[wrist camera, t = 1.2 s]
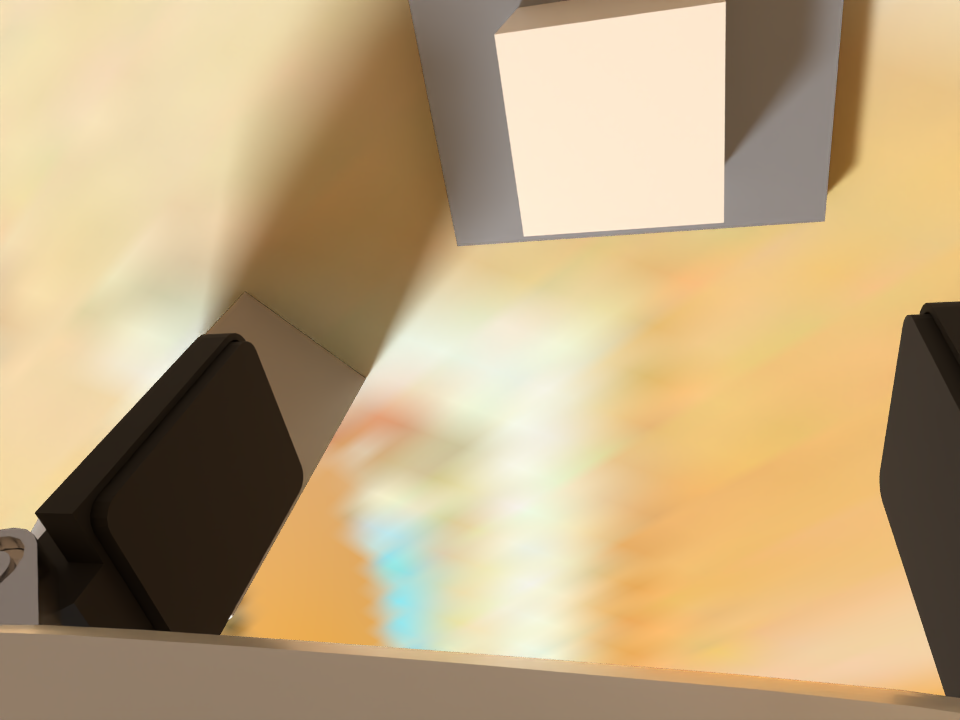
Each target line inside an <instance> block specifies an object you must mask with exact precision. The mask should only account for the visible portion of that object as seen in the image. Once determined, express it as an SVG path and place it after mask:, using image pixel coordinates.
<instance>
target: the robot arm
mask: <svg viewBox="0 0 960 720" xmlns="http://www.w3.org/2000/svg"><path fill="white" fill-rule="evenodd" d="M302 484H303V469H302V465H301V463H300V460H299V458H298V455H297V453H296V450H295V448H294V445H293V442H292V440H291V437H290V435H289V432H288V430H287V427H286V425H285V422H284V419H283V417H282V414H281V412H280V409H279V407H278V404H277V402H276V399H275V397H274V394H273V391H272V389H271V386H270V384H269V381H268V379H267V376H266V374H265V371H264V369H263V366H262V363H261V361H260V358H259V356H258V353H257V351H256V349H255V347H254V345H253V344H252V343H251V342H248V341H245V339H244V338H243V337H242V336H241V335H240V334H237V333H221V334H204V335H201V336H200V337H198V338H197V339H196V340H195V341H194V342H193V343H192V344H191V345H190V347H189V348H188V349H187V350H186V351H185V352H184V353H183V354H182V355H181V356H180V357H179V358H178V359H177V361H176V362H175V363H174V364H173V365H172V366H171V367H170V368H169V369H168V370H167V371H166V372H165V373H164V374H163V376H162V377H161V378H160V379H159V380H158V381H157V382H156V383H155V384H154V385H153V386H152V387H151V388H150V390H149V391H148V392H147V393H146V394H145V395H144V396H143V397H142V398H141V399H140V400H139V401H138V402H137V403H136V405H135V406H134V407H133V408H132V409H131V410H130V411H129V412H128V413H127V414H126V415H125V416H124V417H123V419H122V420H121V421H120V422H119V423H118V424H117V425H116V426H115V427H114V428H113V429H112V430H111V431H110V433H109V434H108V435H107V436H106V437H105V438H104V439H103V440H102V441H101V442H100V443H99V444H98V445H97V446H96V448H95V449H94V450H93V451H92V452H91V453H90V454H89V455H88V456H87V457H86V458H85V459H84V460H83V462H82V463H81V464H80V465H79V466H78V467H77V468H76V469H75V470H74V471H73V472H72V473H71V474H70V475H69V477H68V478H67V479H66V480H65V481H64V482H63V483H62V484H61V485H60V486H59V487H58V488H57V489H56V491H55V492H54V493H53V494H52V495H51V496H50V497H49V498H48V499H47V500H46V501H45V502H44V503H43V505H42V506H41V507H40V508H39V509H38V510H37V511H36V512H35V514H36V515H37V517H38V518H39V520H40V521H41V523H42V524H43V526H44V527H45V529H46V531H45V532H44V533H43V534H42V535H41V536H40V537H39V539H38V540H37V538H36V537H35V535H34V534H32V533H31V532H29V531H28V530H26V529H20V528H9V529H2V530H0V720H960V302H937V303H925V304H924V305H923V307H922V309H921V311H920V315H907V316H906V317H905V320H904V323H903V327H902V334H901V340H900V347H899V353H898V359H897V366H896V372H895V379H894V385H893V392H892V398H891V404H890V411H889V417H888V424H887V430H886V436H885V443H884V449H883V456H882V462H881V468H880V492H881V498H882V501H883V505H884V508H885V511H886V514H887V517H888V520H889V523H890V526H891V529H892V532H893V535H894V538H895V541H896V545H897V548H898V551H899V554H900V557H901V560H902V563H903V566H904V569H905V572H906V575H907V578H908V581H909V585H910V588H911V591H912V594H913V597H914V600H915V603H916V606H917V609H918V612H919V615H920V618H921V621H922V624H923V628H924V631H925V634H926V637H927V640H928V643H929V646H930V649H931V652H932V655H933V658H934V661H935V664H936V667H937V671H938V674H939V677H940V680H941V683H942V686H943V689H944V692H945V695H946V696H941V695H933V694H926V693H918V692H911V691H904V690H896V689H885V688H875V687H864V686H854V685H843V684H833V683H822V682H812V681H801V680H791V679H780V678H770V677H759V676H749V675H738V674H726V673H713V672H701V671H688V670H676V669H663V668H651V667H638V666H626V665H613V664H601V663H588V662H576V661H563V660H551V659H538V658H526V657H513V656H500V655H486V654H473V653H460V652H447V651H433V650H420V649H407V648H393V647H380V646H366V645H352V644H339V643H325V642H311V641H298V640H283V639H269V638H254V637H240V636H225V635H220V634H221V632H222V631H223V629H224V627H225V625H226V623H227V622H228V620H229V618H230V616H231V614H232V613H233V611H234V609H235V607H236V605H237V604H238V602H239V600H240V598H241V596H242V595H243V593H244V591H245V589H246V587H247V586H248V584H249V582H250V580H251V578H252V577H253V575H254V573H255V571H256V569H257V568H258V566H259V564H260V562H261V561H262V559H263V557H264V555H265V553H266V552H267V550H268V548H269V546H270V544H271V543H272V541H273V539H274V537H275V535H276V534H277V532H278V530H279V528H280V526H281V525H282V523H283V521H284V519H285V517H286V516H287V514H288V512H289V510H290V508H291V507H292V505H293V503H294V501H295V499H296V498H297V496H298V494H299V492H300V490H301V488H302Z"/></svg>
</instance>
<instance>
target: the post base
mask: <svg viewBox="0 0 960 720" xmlns="http://www.w3.org/2000/svg"><path fill="white" fill-rule="evenodd" d="M560 1H567V0H409V5H410V10H411V15H412V20H413V25H414V30H415V35H416V40H417V45H418V50H419V55H420V60H421V65H422V70H423V75H424V80H425V85H426V90H427V95H428V100H429V105H430V111H431V116H432V121H433V126H434V131H435V136H436V141H437V146H438V151H439V156H440V161H441V166H442V171H443V176H444V181H445V186H446V191H447V196H448V201H449V206H450V211H451V216H452V221H453V226H454V231H455V236H456V241H457V246H467V245H481V244H496V243H511V242H526V241H541V240H555V239H570V238H585V237H600V236H615V235H629V234H644V233H659V232H674V231H689V230H703V229H718V228H733V227H748V226H763V225H777V224H792V223H807V222H822V221H825V212H826V200H827V188H828V177H829V165H830V153H831V142H832V130H833V118H834V107H835V95H836V83H837V72H838V60H839V48H840V37H841V25H842V13H843V2H844V0H725V1H726V31H725V148H724V223H713V224H698V225H684V226H669V227H655V228H641V229H626V230H612V231H597V232H583V233H568V234H554V235H540V236H525V237H524V234H523V227H522V220H521V214H520V207H519V200H518V193H517V186H516V179H515V173H514V166H513V159H512V152H511V145H510V138H509V132H508V125H507V118H506V111H505V104H504V97H503V91H502V84H501V77H500V70H499V63H498V56H497V50H496V43H495V36H494V34H495V33H496V32H497V31H498V30H499V29H500V28H501V26H502V25H503V24H504V23H505V22H506V21H507V20H508V18H509V17H510V16H511V15H512V14H513V13H514V12H515V11H516V9H517V8H520V7H527V6H533V5H540V4H547V3H553V2H560Z"/></svg>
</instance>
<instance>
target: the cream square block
mask: <svg viewBox="0 0 960 720" xmlns="http://www.w3.org/2000/svg"><path fill="white" fill-rule="evenodd" d="M725 31H726V1H725V0H567V1H560V2H553V3H547V4H540V5H533V6H527V7H520V8H517V9H516V11H515V12H514V13H513V14H512V15H511V16H510V17H509V18H508V20H507V21H506V22H505V23H504V24H503V25H502V26H501V28H500V29H499V30H498V31H497V32H496V33H495V34H494V36H495V43H496V50H497V56H498V63H499V70H500V77H501V84H502V91H503V97H504V104H505V111H506V118H507V125H508V132H509V138H510V145H511V152H512V159H513V166H514V173H515V179H516V186H517V193H518V200H519V207H520V214H521V220H522V227H523V234H524V237H525V236H540V235H554V234H568V233H583V232H597V231H612V230H626V229H641V228H655V227H669V226H684V225H698V224H713V223H724V148H725Z"/></svg>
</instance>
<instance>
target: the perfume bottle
mask: <svg viewBox="0 0 960 720" xmlns="http://www.w3.org/2000/svg"><path fill="white" fill-rule="evenodd" d="M221 333H237V334H240V335H241V336H242V337H243V338H244V339H245V341H248V342H251V343H252V344H253V345H254V347H255V349H256V351H257V353H258V356H259V358H260V361H261V363H262V366H263V369H264V371H265V374H266V376H267V379H268V381H269V384H270V386H271V389H272V391H273V394H274V397H275V399H276V402H277V404H278V407H279V409H280V412H281V414H282V417H283V419H284V422H285V425H286V427H287V430H288V432H289V435H290V437H291V440H292V442H293V445H294V448H295V450H296V453H297V455H298V458H299V460H300V463H301V465H302V469H303V484H302V488H301V490H300V492H299V494H298V496H297V498H296V499H295V501H294V503H293V505H292V507H291V508H290V510H289V512H288V514H287V516H286V517H285V519H284V521H283V523H282V525H281V526H280V528H279V530H278V532H277V534H276V535H275V537H274V539H273V541H272V543H271V544H270V546H269V548H268V550H267V552H266V553H265V555H264V557H263V559H262V561H261V562H260V564H259V566H258V568H257V569H256V571H255V573H254V575H253V577H252V578H251V580H250V582H249V584H248V586H247V587H246V589H245V591H244V593H243V595H242V596H241V598H240V600H239V602H238V604H237V605H236V607H235V609H234V611H233V613H232V614H231V616H230V618H231V617H232V616H233V615H234V613H235V611H236V609H237V608H238V606H239V604H240V602H241V600H242V599H243V597H244V595H245V593H246V592H247V590H248V588H249V586H250V584H251V583H252V581H253V579H254V577H255V575H256V574H257V572H258V570H259V568H260V566H261V565H262V563H263V561H264V559H265V558H266V556H267V554H268V552H269V550H270V548H271V547H272V545H273V543H274V542H275V540H276V538H277V536H278V534H279V533H280V530H281V529H282V527H283V526H284V524H285V522H286V520H287V518H288V517H289V515H290V513H291V511H292V510H293V508H294V506H295V504H296V502H297V500H298V499H299V497H300V495H301V493H302V492H303V490H304V488H305V486H306V485H307V483H308V481H309V479H310V477H311V476H312V474H313V472H314V470H315V468H316V467H317V465H318V463H319V461H320V460H321V458H322V456H323V454H324V452H325V451H326V449H327V447H328V445H329V443H330V442H331V440H332V438H333V436H334V435H335V433H336V431H337V429H338V427H339V426H340V424H341V422H342V420H343V419H344V417H345V415H346V413H347V411H348V410H349V408H350V406H351V404H352V402H353V401H354V399H355V397H356V395H357V394H358V392H359V390H360V388H361V386H362V385H363V383H364V381H365V379H366V378H365V377H363V376H362V375H360V374H359V373H358V372H356V371H355V370H353V369H352V368H351V367H349V366H348V365H346V364H345V363H344V362H342V361H341V360H340V359H338V358H337V357H335V356H334V355H333V354H331V353H330V352H328V351H327V350H326V349H324V348H323V347H321V346H320V345H319V344H317V343H316V342H314V341H313V340H312V339H310V338H309V337H308V336H306V335H305V334H303V333H302V332H301V331H299V330H298V329H296V328H295V327H294V326H292V325H291V324H289V323H288V322H287V321H285V320H284V319H282V318H281V317H280V316H278V315H277V314H276V313H274V312H273V311H271V310H270V309H269V308H267V307H266V306H264V305H263V304H262V303H260V302H259V301H257V300H256V299H255V298H253V297H252V296H250V295H249V294H248V293H246V292H244V293H243V294H242V295H241V296H240V298H239V299H238V300H237V301H236V302H235V303H234V304H233V305H232V306H231V307H230V308H229V309H228V310H227V311H226V312H225V314H224V315H223V316H222V317H221V318H220V319H219V320H218V321H217V322H216V323H215V324H214V325H213V326H212V327H211V329H210V330H209V331H208V332H207V333H206V334H221ZM45 531H46V529H45V527H44V526H43V524H42V523H41V521H40V520H39V518H38V520H37V522H36V524H35V525H34V527H33V529H32V531H31V533H32V534H34V535H35V537H36V538H37V540H38V539H39V537H40V536H41V535H42V534H43V533H44V532H45ZM230 618H229V619H230Z"/></svg>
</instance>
